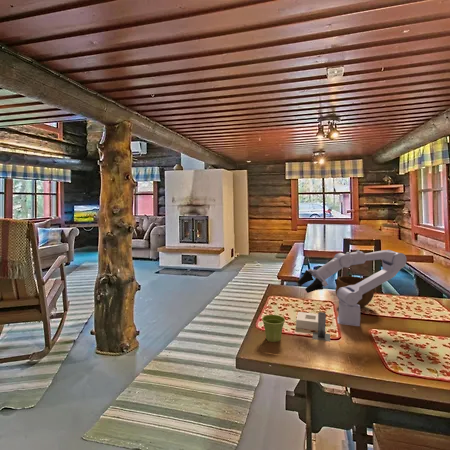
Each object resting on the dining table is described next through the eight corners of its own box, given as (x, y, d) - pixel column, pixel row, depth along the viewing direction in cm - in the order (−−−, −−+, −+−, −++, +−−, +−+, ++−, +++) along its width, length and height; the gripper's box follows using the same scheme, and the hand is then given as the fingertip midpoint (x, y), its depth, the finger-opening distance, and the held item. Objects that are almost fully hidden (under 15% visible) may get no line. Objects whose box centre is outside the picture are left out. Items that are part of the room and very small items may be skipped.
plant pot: (279, 346, 120) (280, 325, 119) (258, 340, 125) (258, 320, 124) (288, 337, 128) (288, 317, 127) (267, 332, 133) (267, 313, 132)
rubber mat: (330, 334, 130) (330, 334, 130) (330, 342, 123) (330, 341, 123) (313, 332, 132) (313, 331, 132) (312, 339, 126) (312, 338, 126)
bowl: (375, 304, 166) (376, 277, 165) (370, 315, 150) (371, 286, 149) (339, 298, 176) (340, 273, 175) (331, 308, 161) (332, 281, 159)
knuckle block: (324, 323, 142) (324, 314, 142) (324, 331, 133) (324, 323, 132) (297, 319, 146) (298, 311, 146) (296, 328, 136) (296, 319, 136)
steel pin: (325, 335, 129) (325, 312, 128) (325, 338, 126) (325, 315, 125) (317, 334, 130) (318, 311, 129) (317, 337, 127) (318, 314, 126)
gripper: (315, 258, 145) (292, 274, 145) (331, 270, 132) (306, 288, 131) (321, 269, 148) (298, 285, 147) (338, 282, 134) (312, 299, 134)
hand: (302, 287), depth 139 cm, fingers open, 7 cm apart
